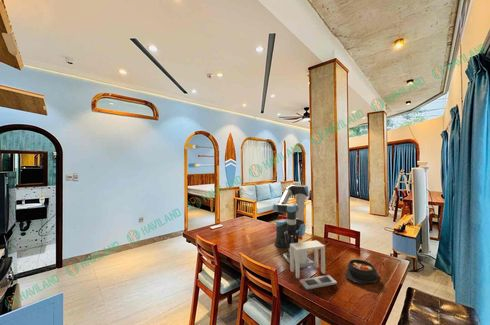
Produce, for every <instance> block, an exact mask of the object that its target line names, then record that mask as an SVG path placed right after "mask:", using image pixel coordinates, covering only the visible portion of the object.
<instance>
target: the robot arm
mask: <svg viewBox="0 0 490 325" xmlns="http://www.w3.org/2000/svg"><path fill="white" fill-rule="evenodd" d="M282 191H283V192H282V195H280V196H281V197H280V198H279V201H278V202H276V203H273V205H272V209H273V212H276V213H283V214H286V218H285V219H284V218H283V219H277V220H276V222H275V231H276V232H275V233H276V234H275V239H274V244H273V245H274V246H275V247H276V248H281V249H286V248H287V249H288V253H290V241H291V237H294V243H299V237H301V238H302V237H304V236H305V234H306V223H305V221H303V220H304V212H305V211H304V210H305V202H306V199H307V198H308V197H309V194H310V193H309V186H308V185H305V184H301V185H300V184H290V185H288V186H287V187H285V188H284V189H283V190H282ZM291 197H295V203H292V204H287V203H288V202H289V199H290V198H291Z"/></svg>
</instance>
